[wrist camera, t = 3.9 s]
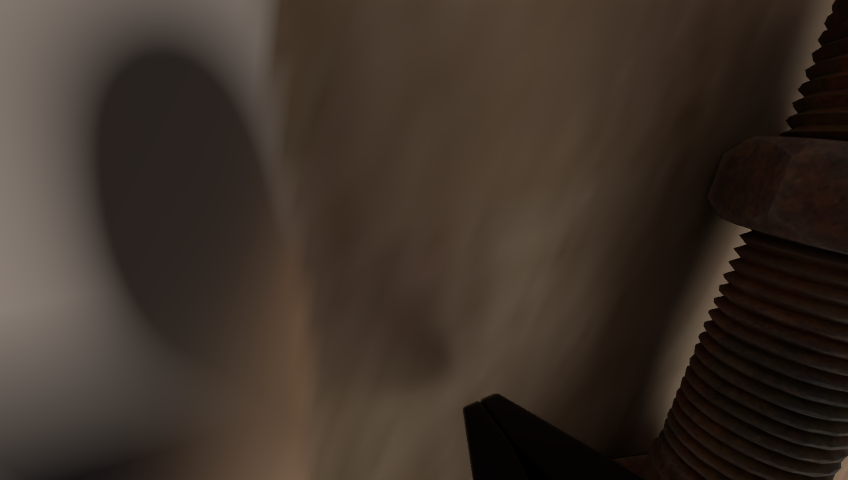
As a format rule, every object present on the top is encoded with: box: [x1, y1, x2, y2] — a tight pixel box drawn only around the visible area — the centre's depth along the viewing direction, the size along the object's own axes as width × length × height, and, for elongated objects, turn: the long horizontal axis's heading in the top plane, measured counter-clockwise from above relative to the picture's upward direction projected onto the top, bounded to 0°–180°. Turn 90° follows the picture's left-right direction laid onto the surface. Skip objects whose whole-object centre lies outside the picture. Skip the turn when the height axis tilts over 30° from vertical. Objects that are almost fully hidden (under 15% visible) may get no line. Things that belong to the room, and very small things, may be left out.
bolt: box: [612, 0, 848, 480], centre depth 9 cm, size 6×5×15 cm
